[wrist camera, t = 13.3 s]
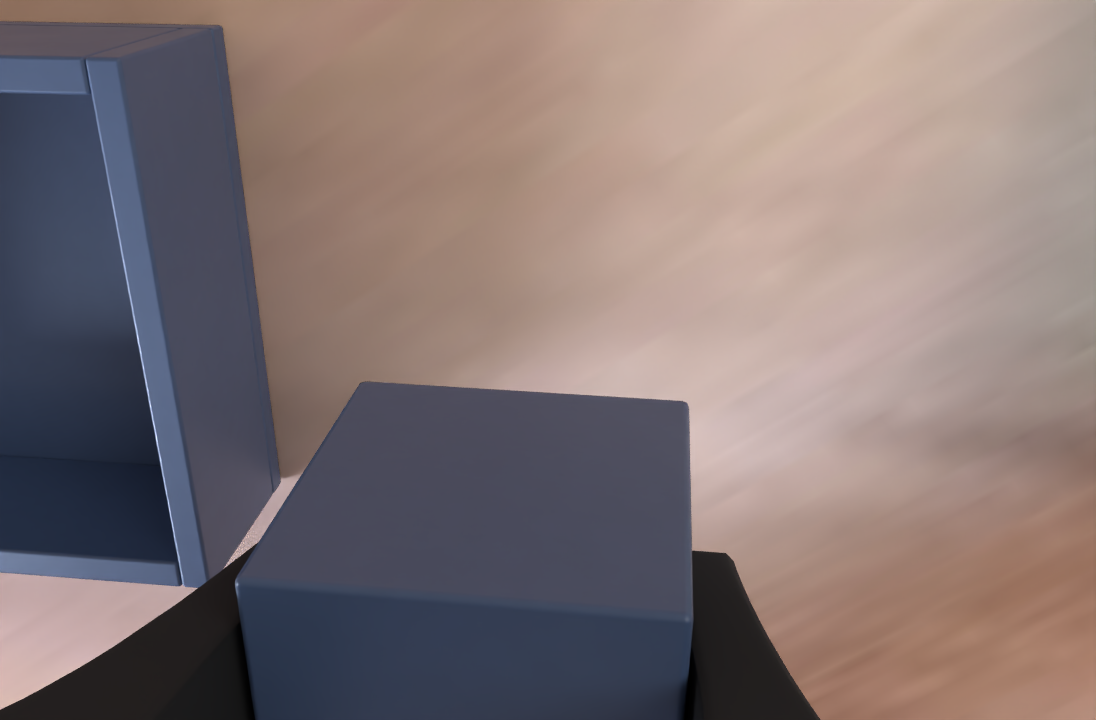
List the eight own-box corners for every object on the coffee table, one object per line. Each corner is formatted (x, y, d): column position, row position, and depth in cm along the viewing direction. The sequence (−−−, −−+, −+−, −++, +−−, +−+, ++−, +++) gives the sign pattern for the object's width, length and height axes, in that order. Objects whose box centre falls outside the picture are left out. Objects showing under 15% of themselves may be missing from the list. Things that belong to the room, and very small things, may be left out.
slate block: (379, 636, 16) (277, 894, 12) (360, 378, 14) (230, 579, 10) (668, 662, 15) (665, 937, 11) (689, 398, 14) (694, 618, 10)
